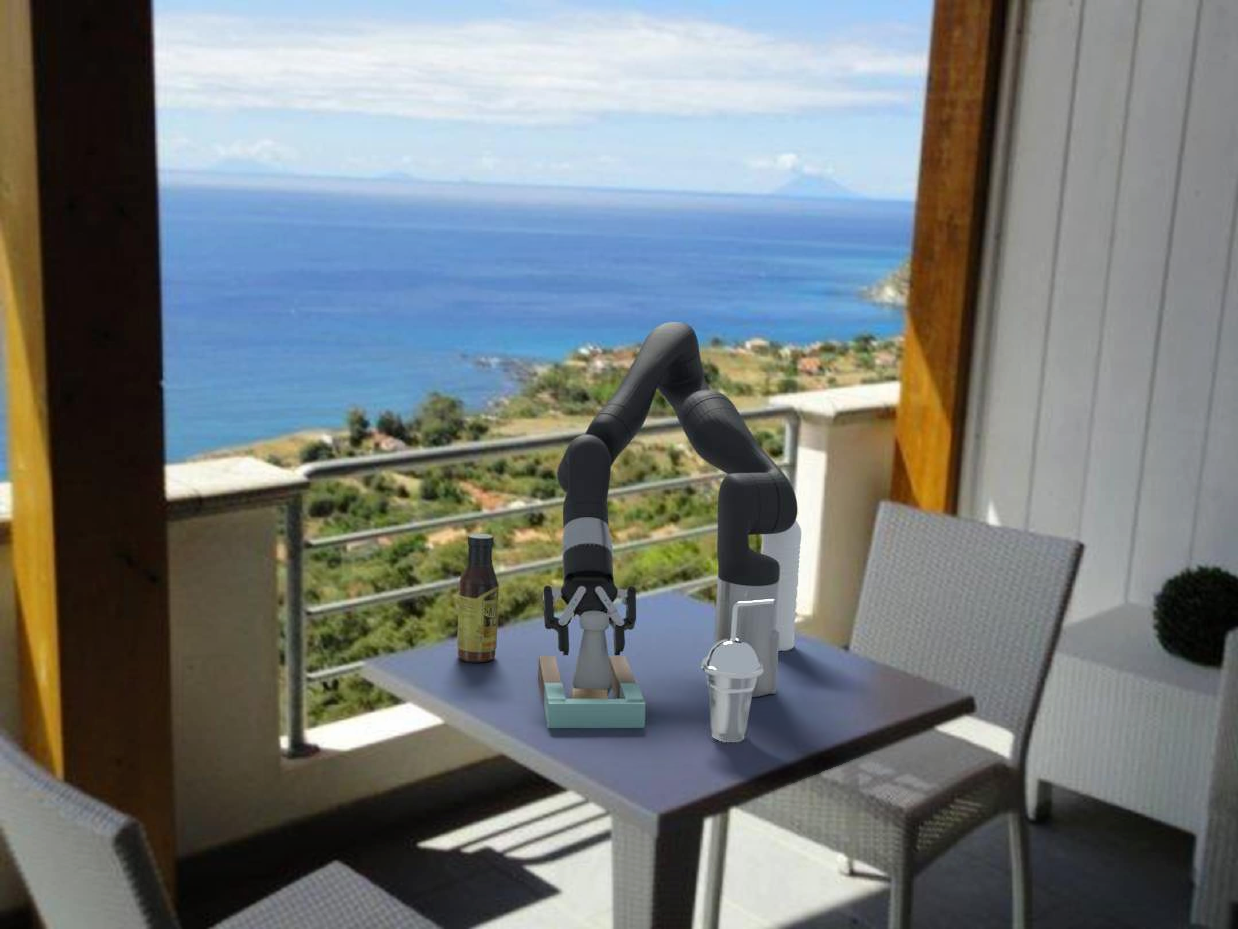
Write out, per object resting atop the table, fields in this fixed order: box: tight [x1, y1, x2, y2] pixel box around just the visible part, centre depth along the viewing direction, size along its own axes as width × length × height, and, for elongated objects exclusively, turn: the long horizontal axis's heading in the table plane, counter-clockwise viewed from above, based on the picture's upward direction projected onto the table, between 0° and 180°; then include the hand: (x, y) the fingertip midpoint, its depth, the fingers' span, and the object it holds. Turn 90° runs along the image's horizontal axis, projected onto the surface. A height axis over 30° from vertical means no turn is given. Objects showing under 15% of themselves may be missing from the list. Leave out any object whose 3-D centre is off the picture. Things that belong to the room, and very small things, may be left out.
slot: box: [537, 655, 637, 705], centre depth 195 cm, size 13×14×3 cm
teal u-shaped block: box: [543, 682, 646, 729], centre depth 184 cm, size 13×8×4 cm, turn 97°
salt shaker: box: [572, 611, 613, 697], centre depth 191 cm, size 6×6×13 cm
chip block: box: [571, 687, 608, 699], centre depth 185 cm, size 5×5×3 cm
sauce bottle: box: [456, 533, 500, 663], centre depth 206 cm, size 7×6×20 cm
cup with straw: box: [700, 599, 775, 744], centre depth 177 cm, size 8×9×20 cm
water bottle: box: [760, 520, 802, 652], centre depth 218 cm, size 9×6×25 cm
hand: (591, 652), depth 188 cm, fingers open, 7 cm apart
